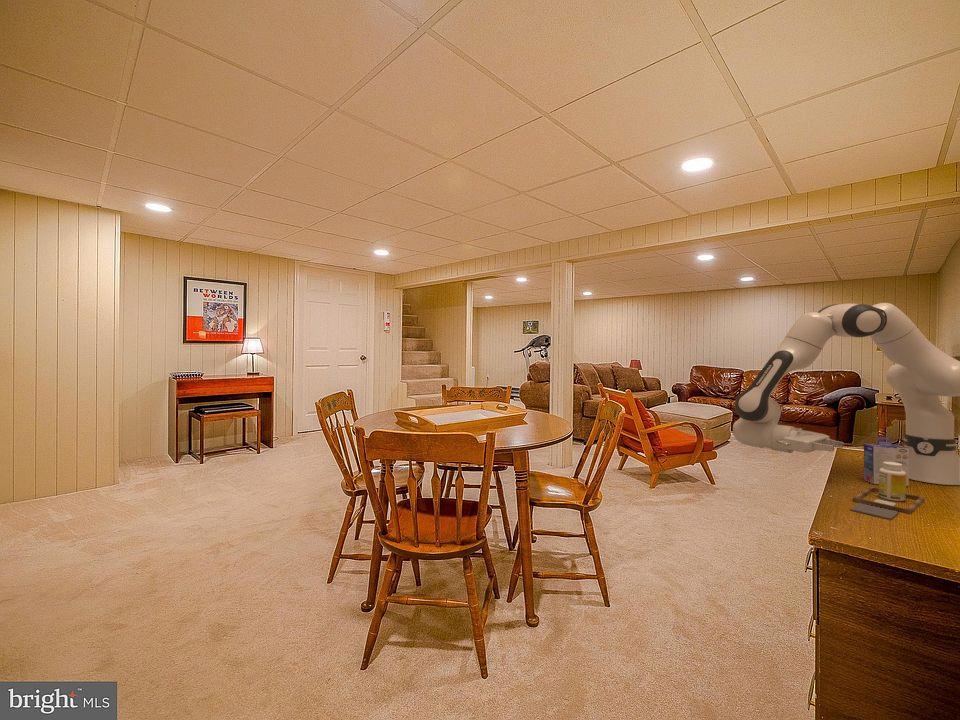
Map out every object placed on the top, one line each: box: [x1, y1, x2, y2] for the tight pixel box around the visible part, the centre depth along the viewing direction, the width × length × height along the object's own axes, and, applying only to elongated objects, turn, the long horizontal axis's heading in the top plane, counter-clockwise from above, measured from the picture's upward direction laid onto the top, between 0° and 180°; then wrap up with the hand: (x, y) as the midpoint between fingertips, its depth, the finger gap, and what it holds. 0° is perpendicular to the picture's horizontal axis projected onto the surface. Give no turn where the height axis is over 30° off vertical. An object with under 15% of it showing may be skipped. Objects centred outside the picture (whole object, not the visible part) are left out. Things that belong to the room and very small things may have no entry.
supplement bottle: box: [878, 462, 907, 502], centre depth 124 cm, size 6×6×10 cm
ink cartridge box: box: [863, 436, 910, 487], centre depth 138 cm, size 10×6×14 cm, turn 78°
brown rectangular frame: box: [852, 486, 925, 515], centre depth 122 cm, size 18×12×1 cm, turn 126°
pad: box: [849, 502, 900, 521], centre depth 113 cm, size 8×8×1 cm
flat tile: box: [873, 498, 897, 506], centre depth 119 cm, size 4×4×1 cm
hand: (838, 446), depth 133 cm, fingers open, 8 cm apart
